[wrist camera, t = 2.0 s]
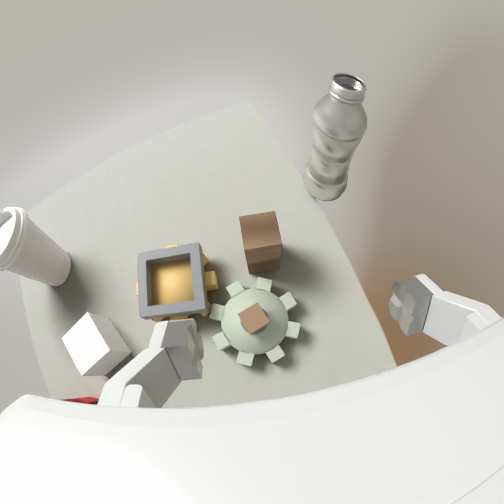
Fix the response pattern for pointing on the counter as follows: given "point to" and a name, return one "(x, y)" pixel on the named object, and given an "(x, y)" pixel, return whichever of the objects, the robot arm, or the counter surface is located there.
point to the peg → (261, 241)
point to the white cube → (95, 345)
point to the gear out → (174, 283)
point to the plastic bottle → (335, 136)
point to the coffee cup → (30, 249)
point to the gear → (254, 321)
